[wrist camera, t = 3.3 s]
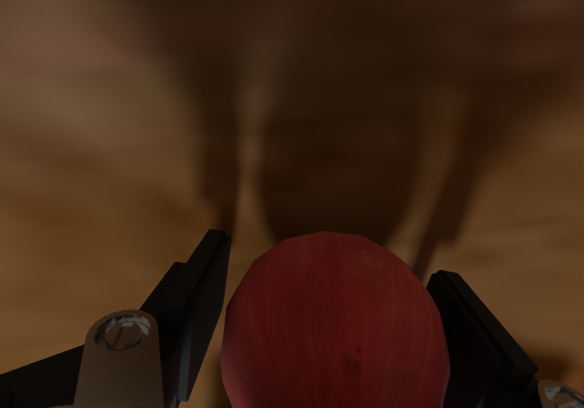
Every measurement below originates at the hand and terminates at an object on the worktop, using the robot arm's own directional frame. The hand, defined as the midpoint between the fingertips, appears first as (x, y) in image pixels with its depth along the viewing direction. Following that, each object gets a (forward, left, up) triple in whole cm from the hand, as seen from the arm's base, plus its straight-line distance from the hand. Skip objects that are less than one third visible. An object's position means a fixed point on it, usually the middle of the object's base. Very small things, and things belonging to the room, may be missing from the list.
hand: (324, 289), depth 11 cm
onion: (0, 0, -2) cm, 2 cm away
